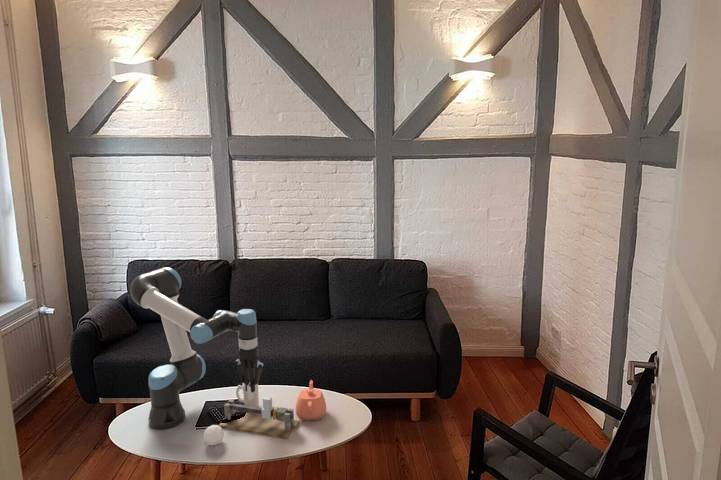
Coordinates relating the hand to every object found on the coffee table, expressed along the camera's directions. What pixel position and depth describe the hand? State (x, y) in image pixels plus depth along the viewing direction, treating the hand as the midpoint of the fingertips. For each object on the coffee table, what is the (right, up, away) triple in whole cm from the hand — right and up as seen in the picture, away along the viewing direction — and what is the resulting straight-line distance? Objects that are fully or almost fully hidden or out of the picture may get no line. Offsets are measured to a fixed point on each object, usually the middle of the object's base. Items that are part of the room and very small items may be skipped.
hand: (250, 398), depth 223 cm
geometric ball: (-12, -15, -11) cm, 22 cm away
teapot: (+25, -10, +9) cm, 28 cm away
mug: (-4, -9, +16) cm, 19 cm away
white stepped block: (+8, -7, -1) cm, 11 cm away
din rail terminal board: (+3, -12, +2) cm, 13 cm away
